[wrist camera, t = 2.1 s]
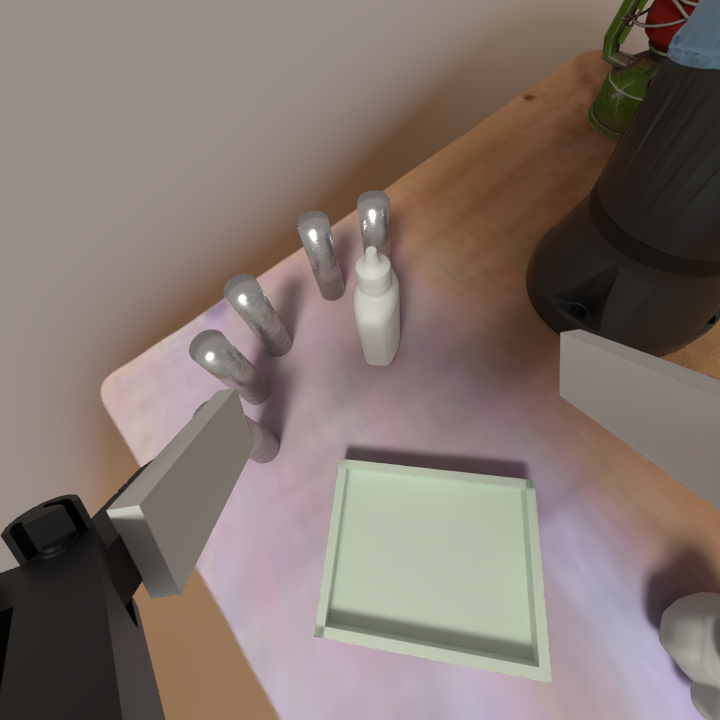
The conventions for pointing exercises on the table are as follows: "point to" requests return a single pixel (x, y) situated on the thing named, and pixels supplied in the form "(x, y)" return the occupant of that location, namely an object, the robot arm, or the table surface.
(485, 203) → the table surface
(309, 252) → the spacers
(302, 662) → the table surface
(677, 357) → the table surface
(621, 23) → the lantern
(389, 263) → the eye dropper bottle
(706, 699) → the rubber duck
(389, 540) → the tray
